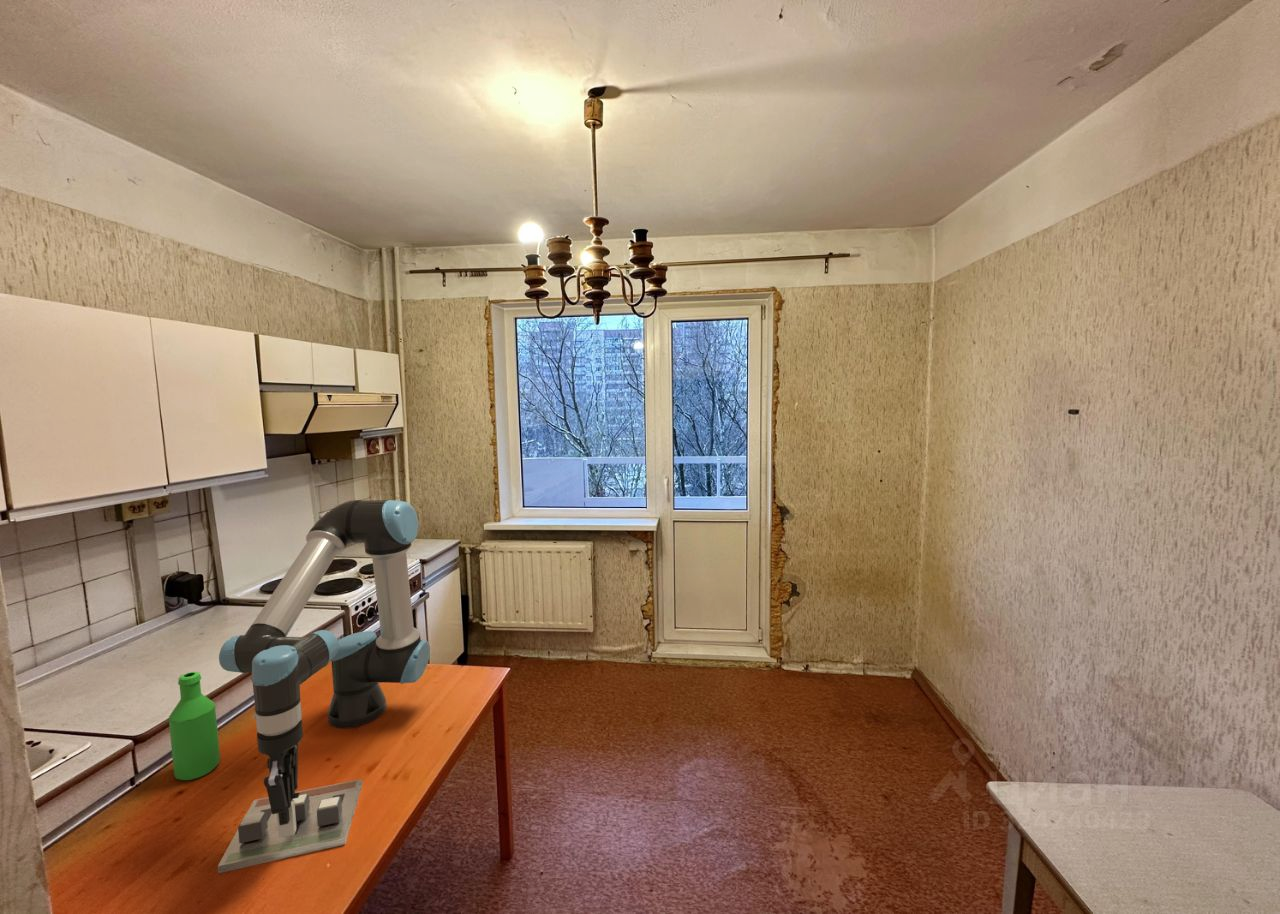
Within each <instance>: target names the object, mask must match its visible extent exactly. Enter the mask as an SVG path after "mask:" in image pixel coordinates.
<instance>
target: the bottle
mask: <svg viewBox="0 0 1280 914" xmlns="http://www.w3.org/2000/svg"><path fill="white" fill-rule="evenodd" d="M201 680H202V676H201V673H200V672H198V671H191V672H189V671H188V672H186V673H184V674H182V675H181V676H179V677H178V681H177V685H178V686H179V692H180V693H179V694H180V700H179V701H178V703H177V704H176V706H175V707H174V708H173V710H172V712H171V713H170V714H169V716H168V724H169V727H168V728H169V735H170V744H171V745H170V746H171V747H170V748H171V755H172V768H173V775H174V776H173V777H174V778H175V779H176V780H180V781H192V780H196V779H198V778H202V777H204V776H206V775H208V774H209V773H211V772H212V771H213V770H214V769H216V767H217V766H218V765H219V764H220V761H221V757H220V755H221V754H220V743H219V742H220V741H219V731H218V730H219V729H218V721H217V713H216V712H217V711H216V704H215V702H214V701H213V700H211V699H210V698H208V697H207V696H206V695H204V694H202V688H201V686H202V685H201Z"/></svg>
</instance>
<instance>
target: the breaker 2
mask: <svg viewBox="0 0 1280 914" xmlns="http://www.w3.org/2000/svg"><path fill="white" fill-rule="evenodd" d="M293 800H294V802H295V815H296V821H300V820H305V819H306V817H307V815H308V812H309V810H310V805H309V794H308V795H307V794H304V795H299V797H298V798H295V799H293Z"/></svg>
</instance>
